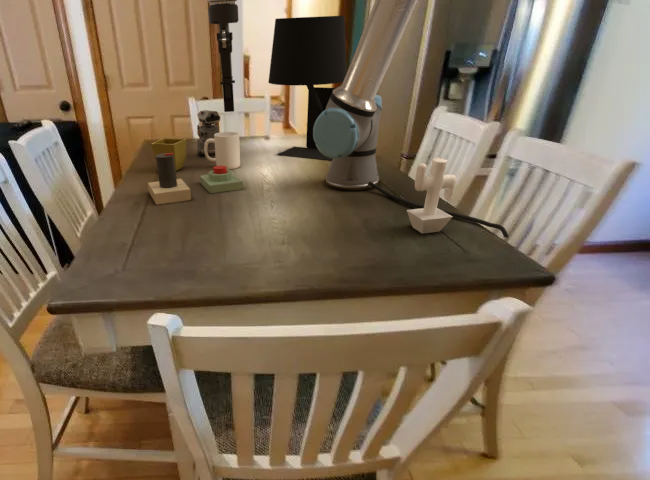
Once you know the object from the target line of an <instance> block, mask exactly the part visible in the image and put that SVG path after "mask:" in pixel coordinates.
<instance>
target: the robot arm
mask: <svg viewBox="0 0 650 480" xmlns="http://www.w3.org/2000/svg"><path fill="white" fill-rule="evenodd" d="M206 2H207V3H208V4H209V6H208V7H207V11H208V23H209V24H210V25H218V26H219V27H218V29H219V30H218V31H219V32H217V33H216V41H217V43H218V45H217V46H218V54H220V55H219V56H220V68H221V69H220V70H221V81H219V85H221V86H222V95H223V96H222V97H223V111H224V113H233V112H235V98H234V84H236V80H235V79H233V71H232V70H233V66H232V65H233V64H232V53H233V40H234V39H233V38H234V37H233V36H234V35H233V32H232V31H230V24H237V23H238V22H239V19H240V18H239V6H238V4H237V3H236V2H238V0H206ZM419 2H420V0H375V1H374V3H373V6H372V8H371V10H370V13H369V16H368V19H367V20H366V23H365V25H364V28H363V31H362V33H361V36H360V37H359V38H360V39H359V41H358V43H357V45H356V48H355V51H354V52H353V53H354V54H353V56H352V58H351V61H350V64H349V65H348V68H347V70H346V71H347V73H346V76H345V78H344V81H343V82H341V84H340V85H339V86H336V87H334V88H335V89H333V91H332V94H331V97H330V99H329V102H328V104H327V107H326V109H325V110H324V111H323V112H322V113H321V114H320V115H319V117H318V118H317V119H316V122H315V124H314V128H313V138H314V141H315V144H316V147H317V148H318V150H319V151H320V152H321V153H322V154H323V155H325V156H327V157H329V158H333V160H332V161H331V162H330V166H329V169H328V171H327V173H326V176H325V177H326V178H325V185H326V186H328V187H329V188H332V189H335V190H340V191H349V192H350V191H351V192H353V191H355V192H356V191H367V190H370V189H375V190H376V191H379V192H380V193H382V194H383V195H385V196H387V197H389V198H391V199H392V200H395V201H397V202H400V203H402V204H405V205H408V206H410V207H414V208H416V209H420V208H424V204H420V203H416V202H414V201H410V200H407V199H405V198H403V197H399V196H398V195H395V194H393V193H391V192H389V191H387V190H386V189H384V188H383V187H381V186H380V185H379V181H380V175H379V171H378V163H377V158H376V157H377V156H376V151H377V146H378V140H379V139H378V138H379V132H380V131H379V130H380V122H381V114H382V110H383V106H382V104H383V98H382V97H381V95H379V94H378V91H379V90H380V87H381V86H382V83H383V80H384V78H385V76H386V74H387V72H388V71H389V67H390V65H391V64H392V61H393V58H394V57H395V55H396V52H397V50H398V48H399V46H400V43H401V41H402V39H403V37H404V35H405V33H406V30H407V28H408V25H409V24H410V22H411V19H412V17H413V15H414V13H415V10H416V8H417V7H418V4H419ZM441 210H442V211H444V212H445V213H447V214H449V215H451V216H453V217H452V218H458V219H461V220H465V221H469V222H473V223H476V224H480V225H483V226H486V227H488V228H491V229H492V228H493V229H496V230H499V231H500V232H501V234H502V235H503V237H504V238H506V239H509V238H510V236H509V232H508V231H507V229H506V228H505V227H504V226H503V225H501V224H500V223H493V222H489V221H487V220H484V219H481V218H477V217H474V216H469V215H466V214H461V213H457V212H454V211H449V210H444V209H441Z"/></svg>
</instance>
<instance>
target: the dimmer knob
mask: <svg viewBox="0 0 650 480" xmlns="http://www.w3.org/2000/svg"><path fill="white" fill-rule="evenodd" d="M155 157H156V159H155V163H156V170H157V177H158V181H159V185H160V187H162V188H172V187H175V186H177V179H178V178H177V171H176V170H175V162H174V154H173V153H163V154H158V155H156V156H154V158H155Z"/></svg>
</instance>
